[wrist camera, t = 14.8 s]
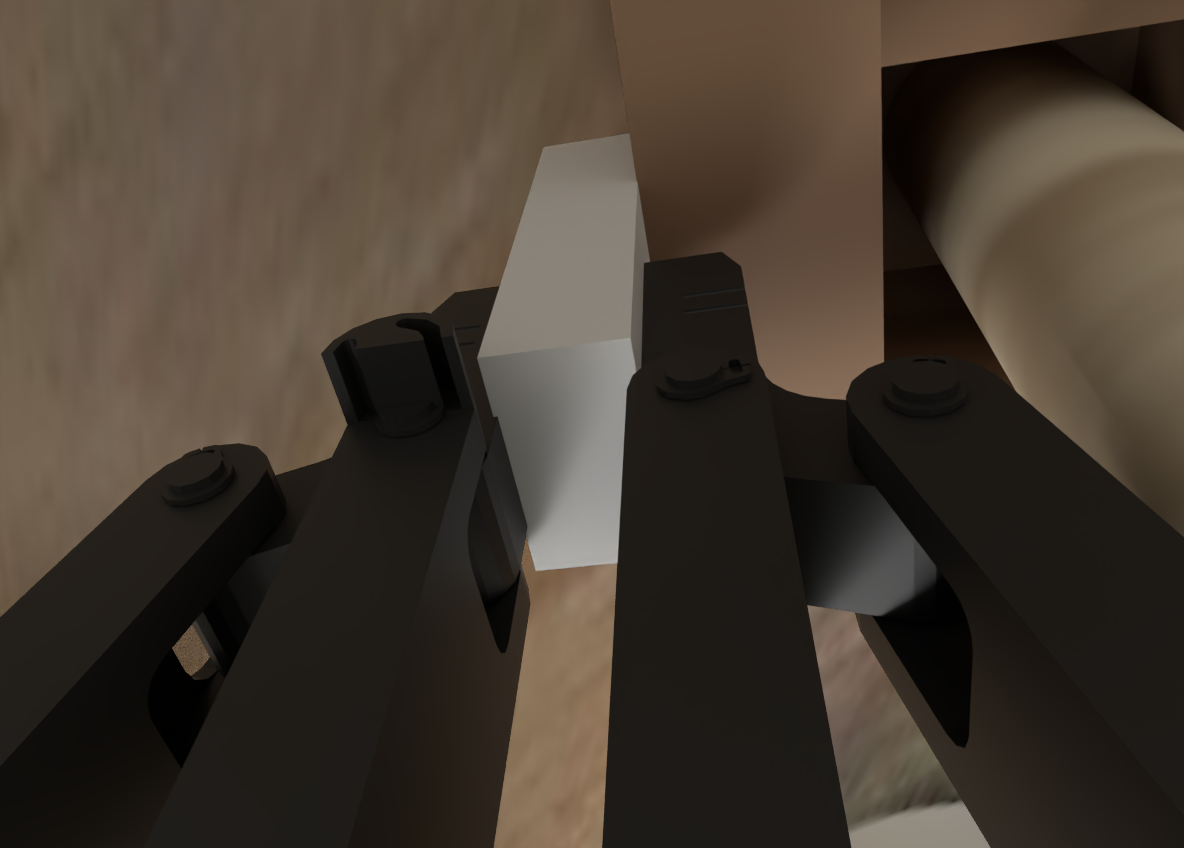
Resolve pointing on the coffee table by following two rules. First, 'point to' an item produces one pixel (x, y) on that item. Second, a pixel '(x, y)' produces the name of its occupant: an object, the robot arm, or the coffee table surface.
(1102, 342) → the dowel
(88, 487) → the coffee table surface
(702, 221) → the block
